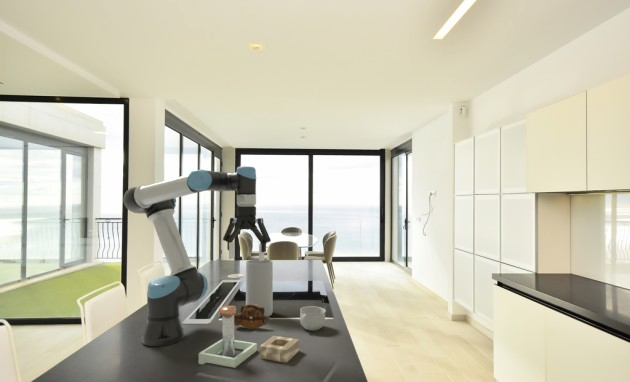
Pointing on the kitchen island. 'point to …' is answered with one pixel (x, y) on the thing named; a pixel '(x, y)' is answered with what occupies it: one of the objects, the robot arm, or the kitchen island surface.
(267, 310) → the cylinder vase
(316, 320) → the teacup
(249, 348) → the tray
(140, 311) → the kitchen island surface
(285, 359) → the block
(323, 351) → the kitchen island surface
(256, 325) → the wooden carving
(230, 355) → the pin
